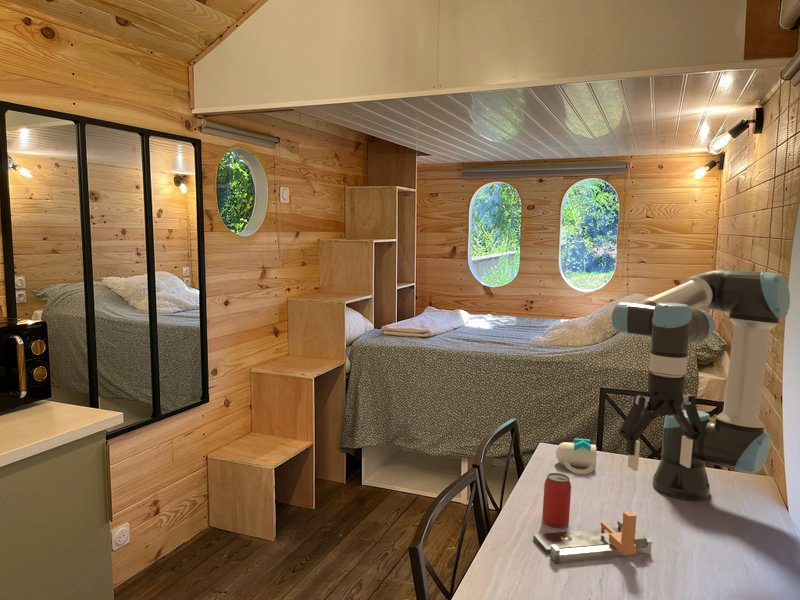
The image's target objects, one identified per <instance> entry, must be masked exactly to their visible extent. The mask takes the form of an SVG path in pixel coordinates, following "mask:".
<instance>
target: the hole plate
mask: <svg viewBox="0 0 800 600" xmlns="http://www.w3.org/2000/svg"><path fill="white" fill-rule="evenodd" d="M611 528H612V529H613V530H614V531H615V532H616V533H620V532H618V526H617V527H611ZM621 533H622V527H621ZM532 539H533V541H534V542H535V543H536V544H537V545H538V547H539V548H540V549H541V550H542V551H543V552H544V553H545V554H546V555H550V552H551V545H556V546H557V547H558V548H559V549H568V548H579V547H590V546H601V545H612V544H611V543H610V542H609V532H608V531H607V530H606V529H605V532H604V534H603V533H601V528H594V529H593V528H592V529H583V530H582V529H581V530H569V531H559V532H558V531H557V532H547V533H534V534H533V538H532Z"/></svg>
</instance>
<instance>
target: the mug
mask: <svg viewBox="0 0 800 600" xmlns="http://www.w3.org/2000/svg"><path fill="white" fill-rule="evenodd" d="M573 439H574V440H573V442H565V441H564V442H561V443H559V444H558V445H557V447H556V449H555V457H556V459H557V461H558V463H559V464H561V465H563V466H564V467H565V468H566V469H567V470H569V472H571V473H574V474H575V475H576V474H577V475H588V474H591V473H592V472H594V470H595V469H596V466H597V459H598V458H597V455H598V454H597V446H596V444H592V443H591V444H590V442H591V439H588V438H577V437H576V438H575V437H574V438H573ZM576 467H578V468H579V467H580V468H585V469H578V468H576Z"/></svg>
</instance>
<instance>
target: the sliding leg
mask: <svg viewBox="0 0 800 600" xmlns="http://www.w3.org/2000/svg"><path fill="white" fill-rule="evenodd" d="M622 522H623V523H622V533H621V532H620V533H616V532H615V531H614V530H613V529H612V528H613V527H610V526H609V525H608V524H607V523H606V522H605V521H601V522H600V527H601V528H600V529H601V533H603V534H604V532H605V529H606V530H607V531H608V532H609V542H610V543H611V544H612V545H613V546H614V547H615V548H616V549H617V550H618V551H620V552H621V553H622V554H623V555H630V554H636V545H635V544H634V542H635V530H637V529H636V526H637V515H636V514H635V513H634V512H632V511H625V512H623V513H622Z"/></svg>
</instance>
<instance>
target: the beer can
mask: <svg viewBox="0 0 800 600" xmlns="http://www.w3.org/2000/svg"><path fill="white" fill-rule="evenodd" d="M570 480H571V479H570V476H569V475H567V474H563V473H560V472H559V473H558V472H551V473H549V474H547V475H546V479H545V481H544V483H543V484H544V487H543V500H542V518H541V519H542V521H543V523H544V524H546V525H548V526H549V527H551V528H564V527H566V526H568V525H569V523H570V512H571V511H570V510H571V509H570V508H571V497H572V496H571V495H572V483H571V481H570Z"/></svg>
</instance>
